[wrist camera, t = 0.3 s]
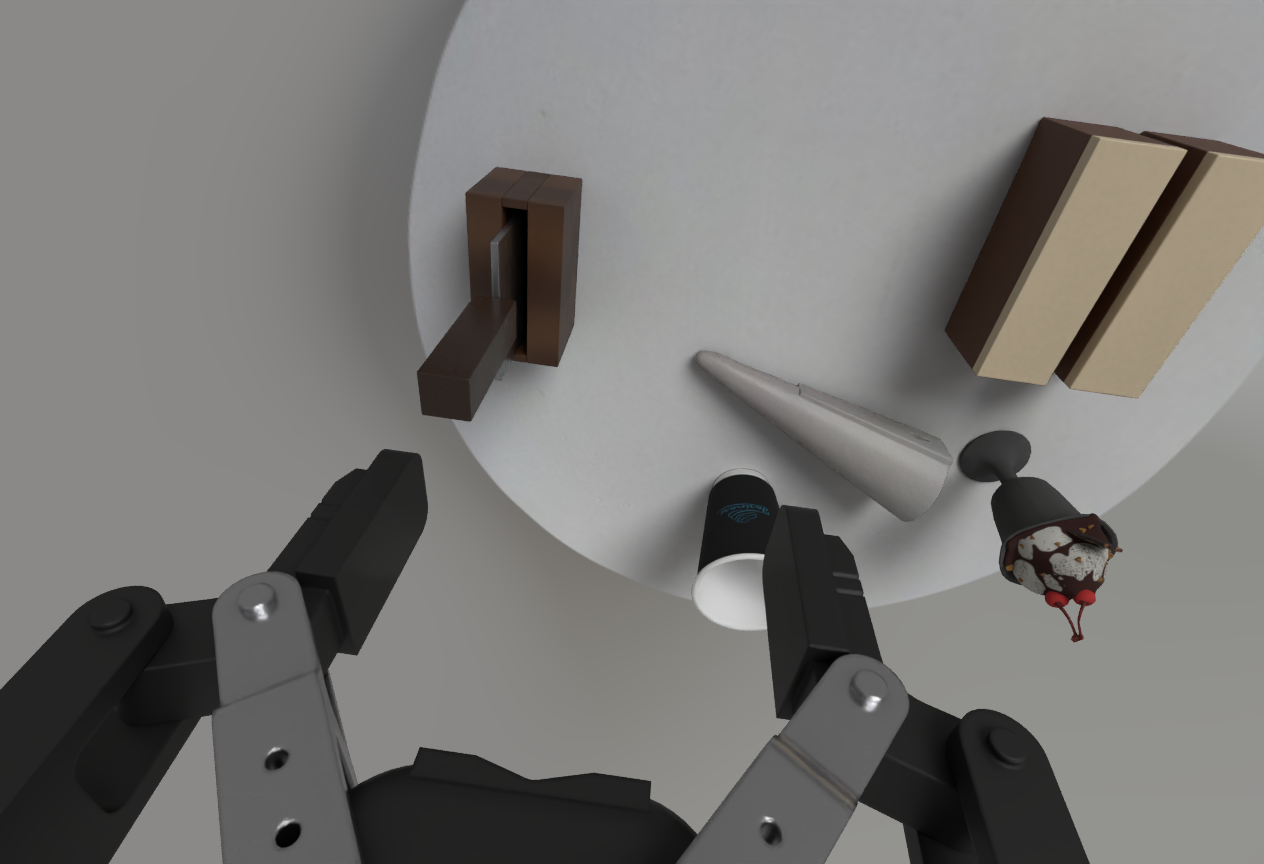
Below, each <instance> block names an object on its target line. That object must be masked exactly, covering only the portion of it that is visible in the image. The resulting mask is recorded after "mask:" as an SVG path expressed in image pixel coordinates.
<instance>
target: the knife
mask: <svg viewBox="0 0 1264 864" xmlns="http://www.w3.org/2000/svg"><path fill="white" fill-rule="evenodd" d="M527 237H528V210H522V209H518V211H517V212H516V213H515V214H514V215H513V216H512V218H511V219H510V220H509V221H508V222H507V224H506V225H505V226H504V227H503V228H502V229H501V231H500V232H499V233H498V234H497V235H496V236H495V238H494V239H493V240H492V241H491V273H492V297H486V296H479V295H475V296H474V297H473V299H472V300H471V301H470V302H469V304H468V305H467V306H466V308H465V309H464V310H463V312H462V313H461V314H460V316H459V317H458V318H457V320H456V321H455V322H454V324H453V325H452V326H451V328H450V329H449V330H448V332H447V333H446V334H445V336H444V337H443V338H442V340H441V341H440V342H439V344H438V345H437V346H436V348H435V349H434V350H433V352H432V353H431V354H430V355H429V357H428V358H427V359H426V361H425V362H424V364H423V365H422V366H421V368H420V369H419V370H418V371H417V377H418V385H419V394H420V402H421V410H422V414H423V415H429V416H435V417H442V418H449V419H456V420H463V421H471V420H472V419H473V417H474V415H475V413H476V411H477V409H478V408H479V406H480V404H481V402H482V400H483V398H484V396H485V395H486V393H487V391H488V389H489V387H490V385H491V384H492V382H493V380H494V378H495V380H500V381H501V380H502V378H503V376H504V375H505V373H506V371H507V369H508V367H509V365H510V363H511V361H512V359H513V357H514V355H515V353H516V351H517V350H518V348H519V346H520V344H521V342H522V340H523V338H524V336H525V334H526V332H527Z"/></svg>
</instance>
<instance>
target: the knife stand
mask: <svg viewBox="0 0 1264 864" xmlns="http://www.w3.org/2000/svg"><path fill="white" fill-rule="evenodd" d="M581 192H582V179H580V178H573V177H566V176H559V175H552V174H551V175H550V174H545V173H537V172H530V171H528V172H527V171H522V170H515V169H508V168H500V167H496V168H494V169H493V170H492V171H491V172H490V173H488V174H487V175H486V176H485V177H484V178H482V179H481V180H480V181H479V182H478V183H477V184H475V185H474V186H473V187H472V188H471V189H469V190H468V191H467V192H466V193H465V195H466V214H467V232H468V251H469V270H470V288H471V300H472V299H473V297H474V296H475V295H479V296H486V297H492V273H491V241H492V240H493V239H494V238H495V236H496V235H497V234H498V233H499V232H500V231H501V229H502V228H503V227H504V226H505V225H506V224H507V222H508V221H509V220H510V219H511V218H512V216H513V215H514V214H515V213H516V212H517V211H518V209H522V210H528V237H527V332H526V334H525V336H524V338H523V340H522V342H521V344H520V346H519V348H518V350H517V351H516V353H515V355H514V357H513V359H512V361H519V362H527V363H533V364H540V365H547V366H554V367H558V365H559V362H560V360H561V357H562V355H563V352H564V349H565V347H566V344H567V342H568V339H569V337H570V334H571V331H572V329H573V326H574V316H575V298H576V281H577V263H578V245H579V228H580V210H581Z"/></svg>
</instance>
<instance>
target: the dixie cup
mask: <svg viewBox="0 0 1264 864" xmlns="http://www.w3.org/2000/svg"><path fill="white" fill-rule="evenodd" d="M778 511H779V505H778V502H777V499H776V496H775V493H774V490H773V488H772V487H771V486H770V485H769V483H768V481H767V479H766V478H765V477H764V476H763V475H761V474H760V473H758V472H756V471H753V470H749V469H734V470H730V471H728V472H726V473H724V474H722V475H721V476H720V477H718V479H717V480H716V481H715V483H714V485H713V488H712V490H711V492H710V494H709V499H708V506H707V513H706V519H705V526H704V533H703V539H702V546H701V553H700V560H699V566H698V573H697V576H696V578H695V580H694V582H693V585H692V591H691V593H692V599H693V602H694V604H695V606H696V608H697V609H698V610H699V612H700V613H701V614H702V615H704V616H705V617H706V618H707V619H709V620H711V621H712V622H714V623H716V624H718V625H720V626H723V627H727V628H730V629H735V630H742V631H758V630H765V629H767V621H766V612H765V602H764V592H763V582H762V568H763V560H764V555H765V551H766V548H767V545H768V542H769V539H770V536H771V533H772V530H773V527H774V524H775V521H776V517H777V514H778Z"/></svg>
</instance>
